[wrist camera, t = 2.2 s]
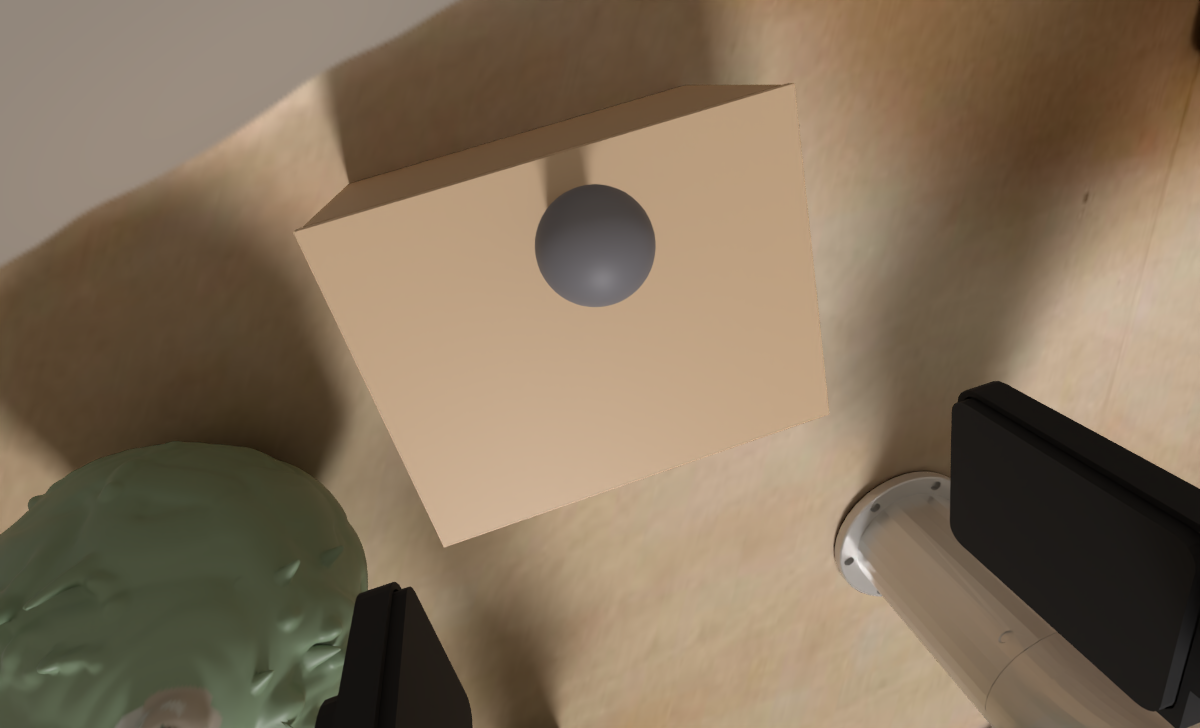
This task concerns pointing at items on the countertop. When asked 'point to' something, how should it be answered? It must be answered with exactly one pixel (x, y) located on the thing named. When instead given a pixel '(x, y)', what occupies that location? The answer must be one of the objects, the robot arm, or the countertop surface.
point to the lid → (585, 312)
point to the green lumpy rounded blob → (177, 594)
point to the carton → (528, 146)
